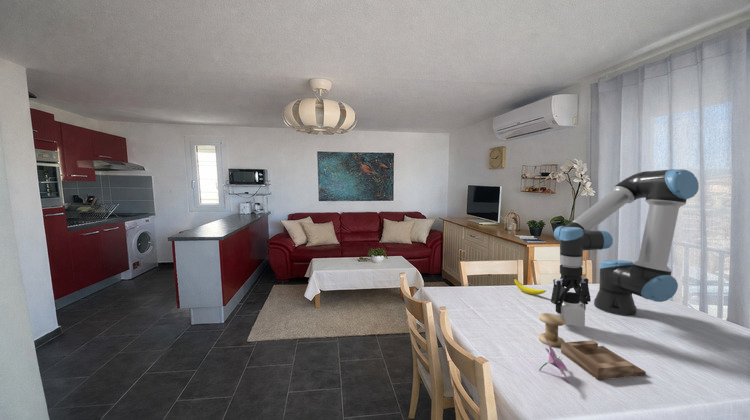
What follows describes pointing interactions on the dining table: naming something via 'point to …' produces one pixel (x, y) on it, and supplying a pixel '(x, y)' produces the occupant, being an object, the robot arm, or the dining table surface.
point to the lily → (555, 360)
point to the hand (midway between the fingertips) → (570, 319)
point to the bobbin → (551, 329)
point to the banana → (528, 290)
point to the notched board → (599, 360)
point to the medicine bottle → (573, 310)
